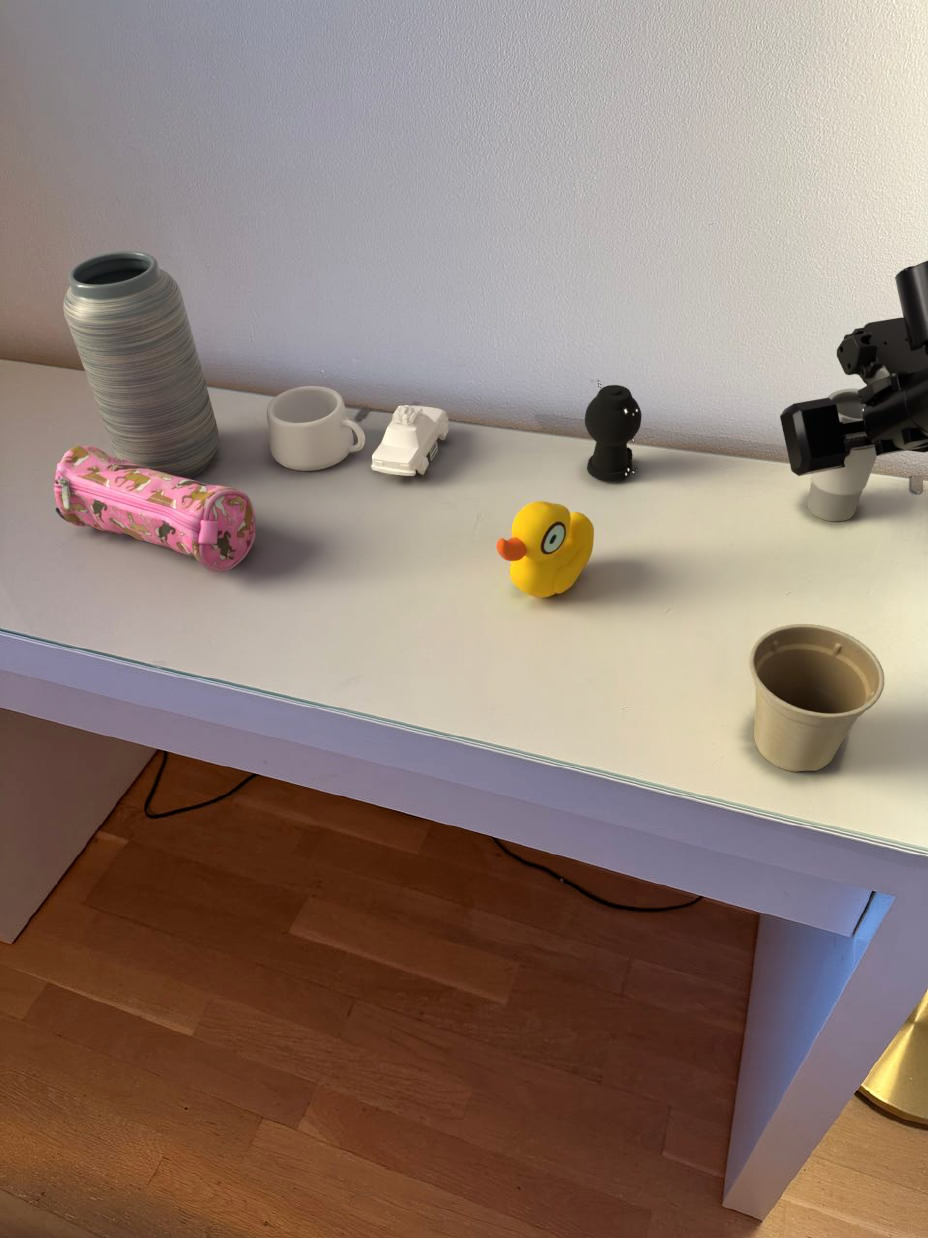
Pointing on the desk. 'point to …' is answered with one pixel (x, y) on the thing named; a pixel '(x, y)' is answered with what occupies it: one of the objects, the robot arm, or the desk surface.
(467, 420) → the desk surface
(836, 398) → the cup
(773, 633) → the flower pot
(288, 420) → the mug
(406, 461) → the toy car
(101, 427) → the desk surface
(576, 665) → the desk surface
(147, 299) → the vase
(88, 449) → the pencil case
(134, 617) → the desk surface
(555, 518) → the duckling
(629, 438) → the gumball machine
